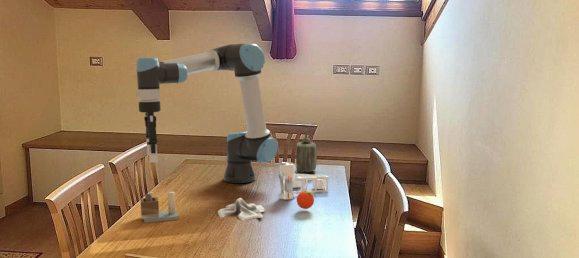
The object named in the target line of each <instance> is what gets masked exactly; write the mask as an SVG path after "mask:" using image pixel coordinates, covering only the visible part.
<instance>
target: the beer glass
mask: <svg viewBox="0 0 579 258" xmlns="http://www.w3.org/2000/svg"><path fill="white" fill-rule="evenodd" d="M295 165H296V164H295V163H294V162H291V161H288V162H287V161H284V162H279V164H278V181H279V186H280V187H279V189H280V193H279V199H280V200H283V201H288V200H289V201H290V200H293V199H294V198H295V197H294V196H295V195H294V193H293V191H294V188H293V185H294V179H295V174H296V166H295Z"/></svg>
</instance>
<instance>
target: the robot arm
mask: <svg viewBox="0 0 579 258" xmlns="http://www.w3.org/2000/svg"><path fill="white" fill-rule="evenodd" d="M265 62H266V57H265V53H264V51H263V49H262V48H261V47H260V46H258V45H257V44H256V43H249V42H247V43H234V44H233V43H231V44H227V45H223V46H220V47H219V46H218V47H216V48H211V49H208V50H206V51H205V52H203V53H197V54H193V55H188V56H182V57H176V58H172V59H165V60H162V61H159V59H158V57H139V58H137V60H136V78H137V80H136V81H137V91H136V95H138V97H137V98H138V100H139V102H138V111H139V112H140V113H144V114H145V116H144V117H143V119H144V126H145V135H146V136H145V137H146V140H145V141H146V156H147V157H149V164H150V163H158V139H157V138H158V137H157V136H158V135H157V116H156V115H155V113H159V112H161V102H160V100H161V91H160V90H161V89H160V85H162V84H183V83H184V82H186V81H187V79H188V76H189V75H193V74H197V73H202V72H205V71H211V72H217V71H233V72H234V77H235V78H236V79H238V80H239V82H238V83H239V86H240V87H239V88H240V91H241V93H240V94H241V98H242V105H243V106H242V107H243V110H244V118H245V123H246V129H247V131H238V132H233V133H232V132H231V133H228V134H227V136H226V167H225V170H224V174H223V182H226V183H231V184H245V183H250V182H254V181H255V180H256V173H255V170H254V167H253V164H252V162H258V163H260V164H261V163H265V164H266V163H270V162H271V161H273V160H274V159H275V157H276V155H277V153H278V150H279V149H278V148H279V147H278V146H279V144H278V142H277V140H276V139H275V138H274V137H272V135H271V134H272V133H271V130H269V129H268V128H267V124H266V117H265V111H264V105H263V99H262V98H263V97H262V91H261V90H262V89H261V85H260V79H259V78H260V76H261V74H262V69H263V68H264V66H265Z"/></svg>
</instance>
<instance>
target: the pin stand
mask: <svg viewBox="0 0 579 258" xmlns="http://www.w3.org/2000/svg"><path fill="white" fill-rule="evenodd" d="M175 194H176V192H175V191H168V192H167V205H168V206H167V207H168V209H167V210H163V211H159V217H157V218H146V219H143V222H144V223H155V222H165V221H166V222H167V221H176V220H179V213H178V210H177V209H176V201H175V200H176V195H175ZM152 197H153V193H145V196H144V198H145V201H152Z"/></svg>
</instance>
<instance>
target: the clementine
mask: <svg viewBox="0 0 579 258" xmlns="http://www.w3.org/2000/svg"><path fill="white" fill-rule="evenodd" d="M300 192H301V191H300ZM315 198H317V197H316V195H315V193H311V192H308V191H303V192H301V193H298V194H297V196H296V204H297V205H298V206H299V208H301V209H304V210H307V209H310V208H312V206H313V205H314V203H315Z"/></svg>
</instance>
